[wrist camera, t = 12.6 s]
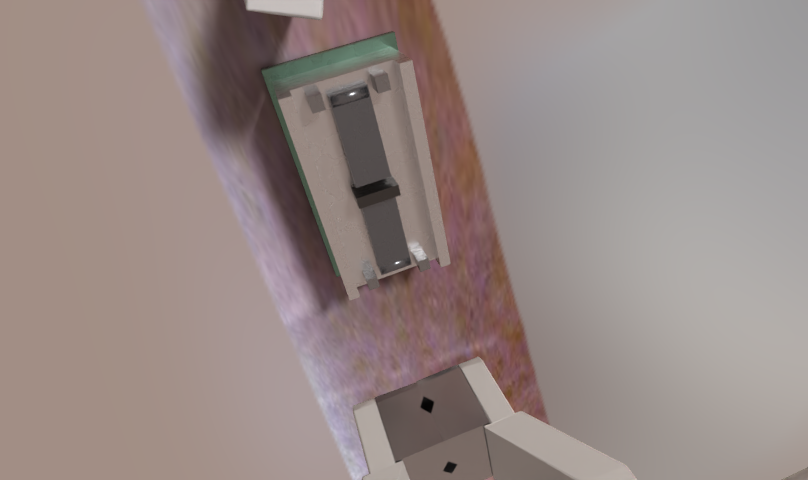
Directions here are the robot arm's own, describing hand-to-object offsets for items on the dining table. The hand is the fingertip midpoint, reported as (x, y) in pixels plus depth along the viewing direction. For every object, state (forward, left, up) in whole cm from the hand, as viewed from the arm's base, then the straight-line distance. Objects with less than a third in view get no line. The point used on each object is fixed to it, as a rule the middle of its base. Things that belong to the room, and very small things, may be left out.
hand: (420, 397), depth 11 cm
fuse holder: (+10, +4, -34) cm, 36 cm away
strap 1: (+5, +4, -29) cm, 30 cm away
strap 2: (+15, +4, -29) cm, 33 cm away
